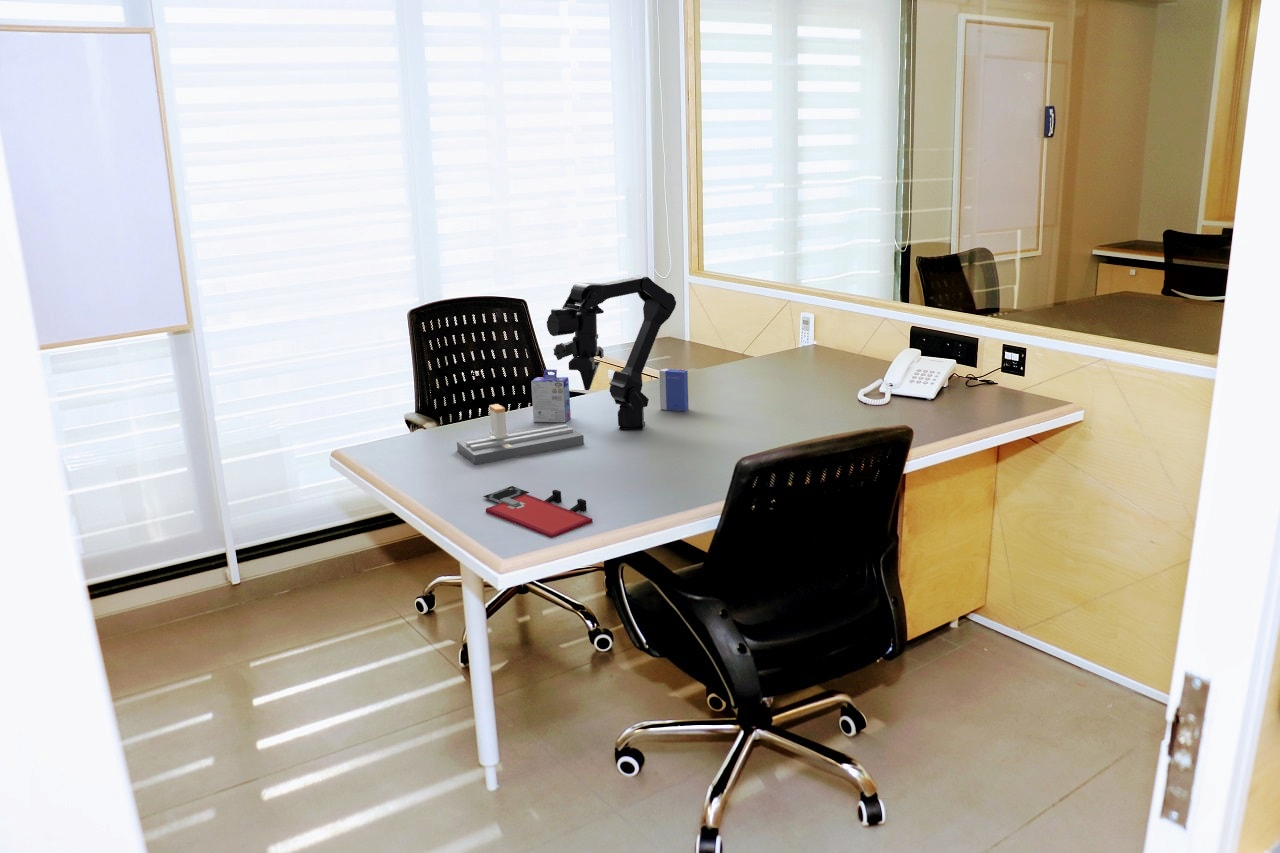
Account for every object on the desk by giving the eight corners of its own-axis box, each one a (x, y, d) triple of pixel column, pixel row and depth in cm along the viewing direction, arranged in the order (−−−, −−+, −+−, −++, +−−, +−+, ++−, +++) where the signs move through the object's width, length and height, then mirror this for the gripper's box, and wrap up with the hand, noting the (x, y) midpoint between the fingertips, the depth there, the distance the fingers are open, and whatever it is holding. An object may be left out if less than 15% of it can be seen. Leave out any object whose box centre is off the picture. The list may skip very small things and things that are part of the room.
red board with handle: (518, 487, 243) (466, 506, 233) (517, 476, 242) (464, 494, 232) (605, 519, 222) (552, 541, 212) (605, 507, 221) (551, 529, 212)
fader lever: (501, 437, 273) (498, 403, 270) (509, 442, 268) (506, 408, 265) (490, 439, 271) (487, 405, 269) (497, 444, 266) (495, 410, 264)
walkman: (688, 409, 302) (687, 369, 299) (684, 411, 300) (683, 371, 297) (664, 407, 306) (662, 367, 302) (660, 409, 303) (658, 369, 300)
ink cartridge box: (571, 417, 299) (568, 368, 294) (566, 423, 293) (563, 373, 289) (538, 417, 301) (535, 368, 296) (533, 422, 295) (529, 372, 291)
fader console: (562, 431, 285) (561, 420, 284) (583, 444, 273) (583, 432, 272) (457, 450, 272) (456, 438, 271) (475, 464, 260) (474, 452, 259)
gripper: (562, 325, 281) (564, 381, 285) (548, 337, 263) (550, 397, 267) (603, 325, 280) (604, 382, 284) (591, 338, 262) (592, 398, 266)
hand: (587, 389), depth 275 cm, fingers closed
